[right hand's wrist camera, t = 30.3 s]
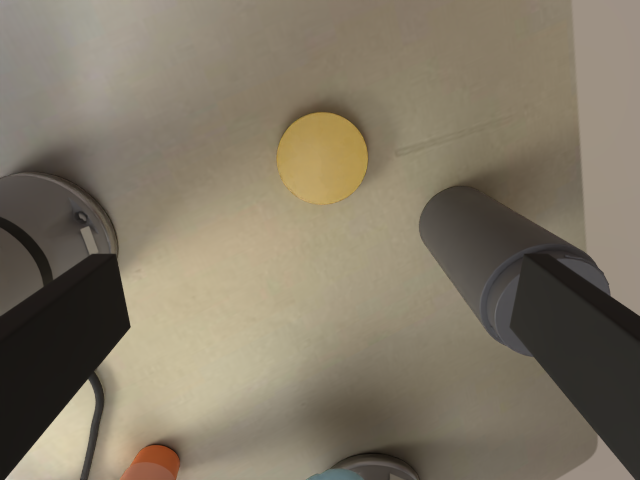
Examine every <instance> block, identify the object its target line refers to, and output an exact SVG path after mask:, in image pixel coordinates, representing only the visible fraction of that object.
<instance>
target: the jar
mask: <svg viewBox="0 0 640 480" xmlns="http://www.w3.org/2000/svg"><path fill="white" fill-rule="evenodd" d="M419 231H420V236H421V238H422V241H423V242H424V244H425V245H426V247H427V248H428V250H429V251H430V252H431V254H432V255H433V257H434V258H435V259H436V261H437V262H438V264H439V265H440V266H441V268H442V269H443V271H444V272H445V273H446V275H447V276H448V278H449V279H450V280H451V282H452V283H453V285H454V286H455V287H456V289H457V290H458V292H459V293H460V294H461V296H462V297H463V298H464V300H465V301H466V303H467V304H468V305H469V307H470V308H471V310H472V311H473V312H474V314H475V315H476V317H477V318H478V319H479V321H480V322H481V324H482V325H483V326H484V328H485V329H486V331H487V332H488V333H489V334H490V335H491V336H492V337H493V338H494V339H495V340H497V341H498V342H499V343H501V344H503V345H505V346H508V347H509V348H511V349H512V350H514V351H516V352H518V353H520V354H523V355H526V356H531V357H534V356H533V355H532V354H531V353H530V352H529V350H528V349H527V348H526V347H525V346H524V344H523V343H522V342H521V341H520V339H519V338H518V337H517V336H516V335H515V333H514V332H513V331H512V330H511V329H510V327H509V326H510V321H511V316H512V311H513V306H514V301H515V297H516V292H517V287H518V282H519V277H520V272H521V267H522V262H523V257H524V254H549V255H551V256H552V257H554V258H555V259H557V260H558V261H559V262H561V263H562V264H564V265H565V266H567V267H568V268H570V269H571V270H573V271H574V272H576V273H577V274H579V275H580V276H581V277H583V278H584V279H586V280H587V281H589V282H590V283H592V284H593V285H595V286H596V287H598V288H599V289H601V290H602V291H603V292H605V293H606V294H608V295H609V296H610V289H609V286H608V285H609V283H608V282H607V280H606V278H605V276H604V273H603V272H602V271H601V270H600V269H599V268H598V267H597V265H596V263H595V262H594V261H593V259H592V258H591V257H590V256H589V255H587V254H586V253H585V252H583V251H582V250H580V249H578V248H577V247H575V246H573V245H571V244H570V243H568V242H566V241H565V240H563V239H561V238H559V237H558V236H556V235H554V234H553V233H551V232H549V231H547V230H546V229H544V228H542V227H540V226H539V225H537V224H535V223H534V222H532V221H530V220H528V219H527V218H525V217H523V216H522V215H520V214H518V213H516V212H515V211H513V210H511V209H510V208H508V207H506V206H504V205H503V204H501V203H499V202H498V201H496V200H494V199H492V198H491V197H489V196H487V195H486V194H484V193H482V192H480V191H479V190H477V189H474V188H471V187H465V186H458V187H452V188H448V189H446V190H443V191H442V192H440V193H438V194H437V195H435V196H434V197H433V198H432V199H431V200H430V201H429V202H428V203H427V205H426V206H425V208H424V210H423V212H422V214H421V217H420V222H419Z"/></svg>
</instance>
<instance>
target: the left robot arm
mask: <svg viewBox="0 0 640 480" xmlns="http://www.w3.org/2000/svg"><path fill="white" fill-rule="evenodd" d="M306 480H420V479H419V477H418V475H417V473H416V472H415V471H414V470H413V468H412V467H410V466H409V465H408V464H407V463H405V462H403V461H402V460H400V459H397V458H395V457H392V456H388V455H383V454H362V455H357V456H353V457H350V458H347V459H345V460H342V461H341V462H339V463H337V464H336V465H334V466H333V467H332V468H331V469H329V470H326V471H325V472H323V473H321V474H315V475H313V476H311V477H309V478H308V479H306Z"/></svg>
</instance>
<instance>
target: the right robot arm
mask: <svg viewBox="0 0 640 480" xmlns="http://www.w3.org/2000/svg"><path fill="white" fill-rule="evenodd" d="M117 255H118V246H117V239H116V234H115V231H114V228H113V226H112V223H111V221H110V219H109V218H108V216H107V214H106V213H105V211H104V210H103V209H102V207H101V206H100V205H99V204H98V202H97V201H96V200H95V199H94V198H93V197H92V196H91V195H89V194H88V193H87V192H86V191H84V190H83V189H82V188H80V187H79V186H77V185H75V184H74V183H72V182H70V181H68V180H66V179H64V178H61V177H58V176H55V175H52V174H47V173H41V172H23V173H17V174H13V175H9V176H5V177H2V178H0V480H5V479H6V477H7V476H8V475H9V474H10V473H11V471H12V470H13V469H14V468H15V467H16V465H17V464H18V463H19V462H20V460H21V459H22V458H23V457H24V456H25V454H26V453H27V452H28V451H29V450H30V448H31V447H32V446H33V445H34V444H35V442H36V441H37V440H38V439H39V437H40V436H41V435H42V434H43V433H44V431H45V430H46V429H47V428H48V427H49V425H50V424H51V423H52V422H53V421H54V419H55V418H56V417H57V416H58V415H59V413H60V412H61V411H62V410H63V408H64V407H65V406H66V405H67V404H68V402H69V401H70V400H71V399H72V398H73V396H74V395H75V394H76V393H77V392H78V390H79V389H80V388H81V387H82V385H83V384H84V383H85V382H86V381H87V379H89V381H90V383H91V385H92V387H93V389H94V393H95V399H96V405H95V412H94V416H93V420H92V424H91V430H90V437H89V443H88V448H87V452H86V457H85V461H84V466H83V470H82V474H81V478H80V480H87V479H88V475H89V471H90V467H91V463H92V458H93V454H94V450H95V445H96V440H97V435H98V429H99V423H100V419H101V415H102V411H103V406H104V393H103V389H102V385H101V383H100V381H99V379H98V377H97V375H96V374H95V372H94V371H95V370H96V369H97V367H98V366H99V365H100V364H101V362H102V361H103V360H104V359H105V358H106V356H107V355H108V354H109V353H110V352H111V350H112V349H113V348H114V347H115V346H116V344H117V343H118V342H119V341H120V339H121V338H122V337H123V336H124V335H125V333H126V332H127V331H128V330H129V329H130V327H131V326H130V321H129V316H128V311H127V306H126V302H125V297H124V292H123V287H122V282H121V277H120V272H119V267H118V262H117ZM509 327H510V329H511V330H512V331H513V332H514V333H515V335H516V336H517V337H518V338H519V339H520V341H521V342H522V343H523V344H524V346H525V347H526V348H527V349H528V350H529V352H530V353H531V354H532V355H533V356H534V358H535V359H536V360H537V361H538V362H539V364H540V365H541V366H542V367H543V369H544V370H545V371H546V372H547V373H548V375H549V376H550V377H551V378H552V379H553V381H554V382H555V383H556V384H557V385H558V387H559V388H560V389H561V390H562V392H563V393H564V394H565V395H566V396H567V398H568V399H569V400H570V401H571V402H572V404H573V405H574V406H575V407H576V408H577V410H578V411H579V412H580V413H581V415H582V416H583V417H584V418H585V419H586V421H587V422H588V423H589V424H590V425H591V427H592V428H593V429H594V430H595V431H596V433H597V434H598V435H599V436H600V437H601V439H602V440H603V441H604V442H605V444H606V445H607V446H608V447H609V448H610V450H611V451H612V452H613V453H614V454H615V456H616V457H617V458H618V459H619V460H620V462H621V463H622V464H623V465H624V466H625V468H626V469H627V470H628V471H629V473H630V474H631V475H632V476H633V477H634V479H635V480H640V316H639V315H637V314H636V313H634V312H633V311H631V310H630V309H628V308H627V307H625V306H624V305H622V304H621V303H620V302H618V301H617V300H615V299H614V298H612V297H611V296H609V295H608V294H606V293H605V292H603V291H602V290H601V289H599V288H598V287H596V286H595V285H593V284H592V283H590V282H589V281H587V280H586V279H584V278H583V277H581V276H580V275H579V274H577V273H576V272H574V271H573V270H571V269H570V268H568V267H567V266H565V265H564V264H562V263H561V262H559V261H558V260H557V259H555V258H554V257H552V256H551V255H549V254H524V257H523V262H522V267H521V272H520V277H519V282H518V287H517V292H516V297H515V301H514V306H513V311H512V316H511V321H510V326H509Z"/></svg>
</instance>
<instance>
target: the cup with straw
mask: <svg viewBox="0 0 640 480" xmlns="http://www.w3.org/2000/svg"><path fill="white" fill-rule="evenodd" d="M179 466H180V461H179V458H178V456H177V454H176V453H175V452H174V451H172V450H171V449H169V448H167V447H165V446H160V445H151V446H147V447H145V448H143V449H142V450H141V451H140V452H139V453H138V454H137V456H136V457H135V459H134V461H133V462H132V464H131V465H130V467H129V468H127V469H126V471H125V472H124V474H123V475H122V477H121V478H120V480H176V477H177V474H178V470H179Z"/></svg>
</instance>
